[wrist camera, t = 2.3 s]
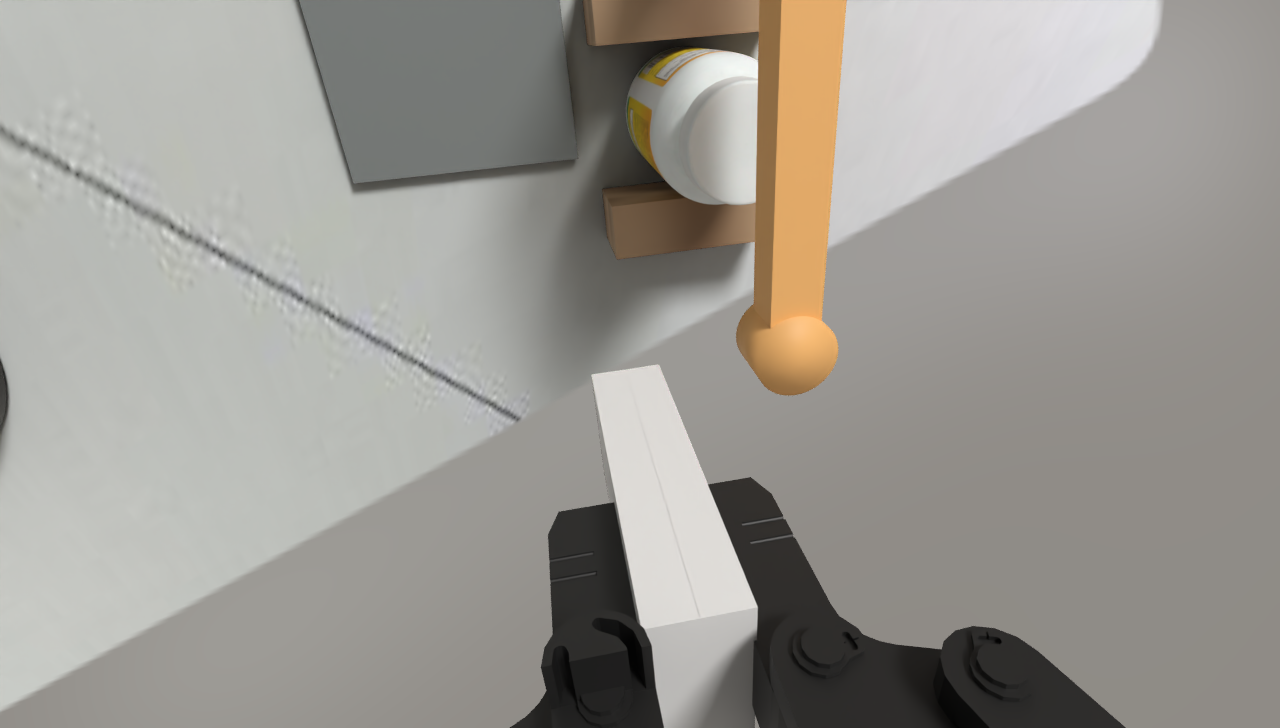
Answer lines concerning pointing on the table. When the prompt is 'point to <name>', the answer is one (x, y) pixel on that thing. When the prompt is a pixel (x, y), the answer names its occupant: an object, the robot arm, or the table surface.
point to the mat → (444, 83)
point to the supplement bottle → (698, 122)
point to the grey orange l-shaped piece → (793, 193)
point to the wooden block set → (656, 213)
